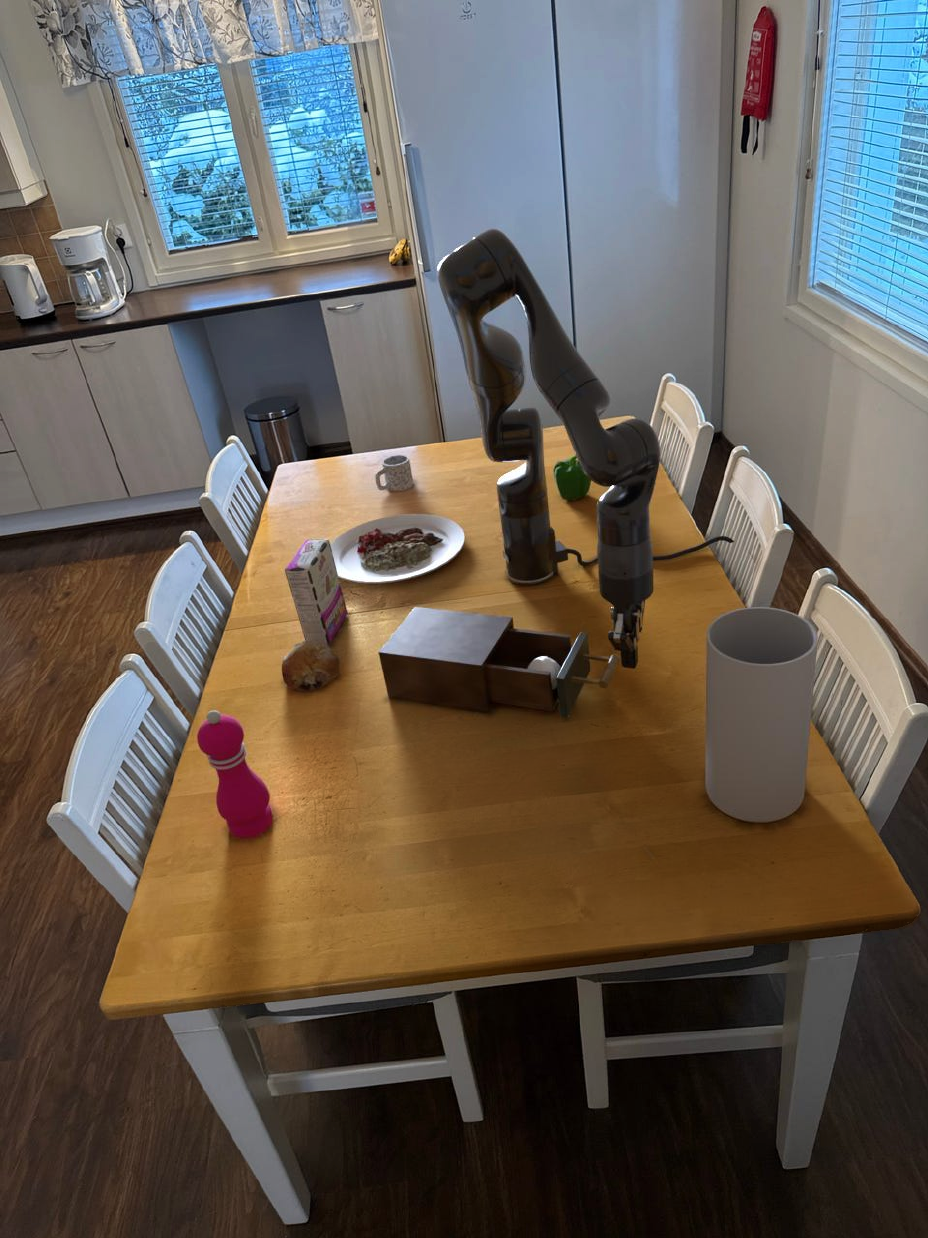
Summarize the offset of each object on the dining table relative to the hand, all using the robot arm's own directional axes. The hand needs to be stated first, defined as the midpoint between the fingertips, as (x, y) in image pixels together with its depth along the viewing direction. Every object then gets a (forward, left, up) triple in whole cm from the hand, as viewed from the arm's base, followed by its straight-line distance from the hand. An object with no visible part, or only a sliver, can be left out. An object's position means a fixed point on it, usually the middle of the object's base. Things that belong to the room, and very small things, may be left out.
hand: (629, 665), depth 135 cm
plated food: (+21, -69, -8) cm, 73 cm away
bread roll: (+45, -32, -8) cm, 56 cm away
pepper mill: (+59, 0, -8) cm, 59 cm away
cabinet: (+23, -19, -8) cm, 31 cm away
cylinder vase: (-6, +24, -8) cm, 26 cm away
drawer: (+10, -9, -7) cm, 15 cm away
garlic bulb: (+11, -9, -4) cm, 15 cm away
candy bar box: (+40, -46, -8) cm, 62 cm away
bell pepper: (-22, -74, -8) cm, 78 cm away
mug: (+13, -103, -8) cm, 104 cm away
